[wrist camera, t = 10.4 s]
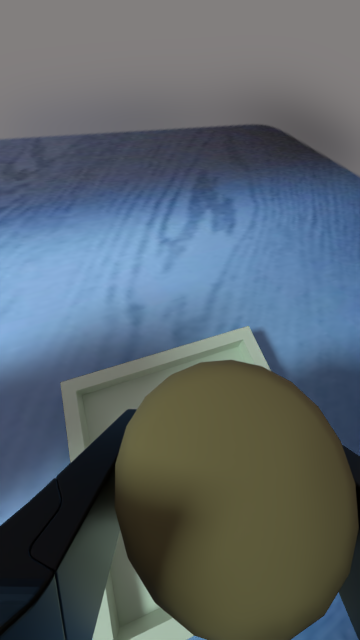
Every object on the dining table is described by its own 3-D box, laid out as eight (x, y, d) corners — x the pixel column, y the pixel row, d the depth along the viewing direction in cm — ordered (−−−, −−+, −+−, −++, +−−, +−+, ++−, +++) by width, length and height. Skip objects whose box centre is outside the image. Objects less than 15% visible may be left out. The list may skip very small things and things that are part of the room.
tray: (338, 538, 14) (360, 550, 12) (108, 652, 12) (98, 684, 10) (241, 336, 19) (248, 325, 18) (70, 388, 17) (60, 382, 15)
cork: (209, 385, 16) (263, 282, 6) (274, 480, 14) (510, 544, 4) (123, 442, 15) (20, 420, 5) (180, 559, 12) (203, 970, 3)
